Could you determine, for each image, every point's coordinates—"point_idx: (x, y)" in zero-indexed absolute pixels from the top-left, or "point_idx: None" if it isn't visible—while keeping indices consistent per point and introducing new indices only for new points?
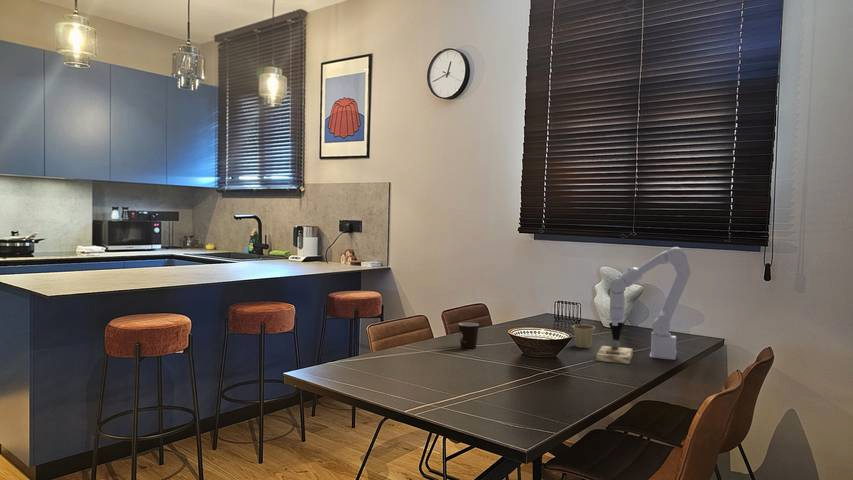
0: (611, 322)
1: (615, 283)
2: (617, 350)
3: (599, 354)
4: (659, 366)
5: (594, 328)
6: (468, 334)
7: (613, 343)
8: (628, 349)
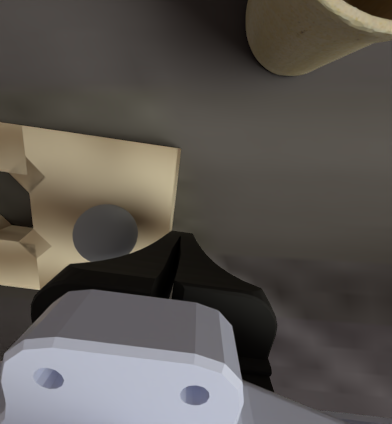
0: (268, 317)
1: None
2: None
3: None
4: (5, 350)
5: (353, 28)
6: None
7: (74, 226)
8: None
